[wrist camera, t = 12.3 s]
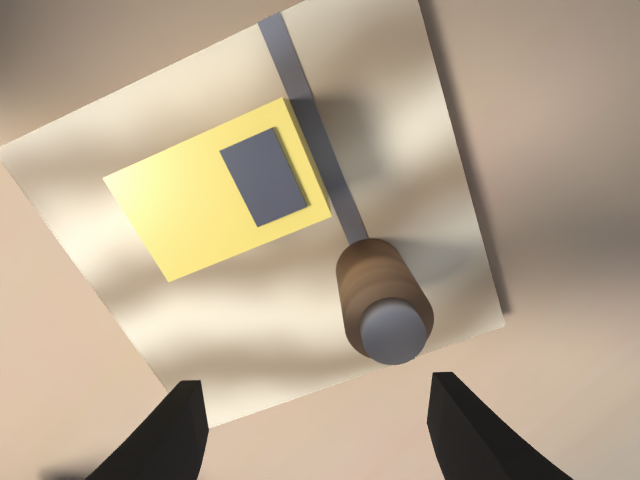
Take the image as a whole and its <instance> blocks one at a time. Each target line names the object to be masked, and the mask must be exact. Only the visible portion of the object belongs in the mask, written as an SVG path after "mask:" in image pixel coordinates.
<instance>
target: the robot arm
mask: <svg viewBox="0 0 640 480" xmlns="http://www.w3.org/2000/svg"><path fill="white" fill-rule="evenodd" d="M427 425H428V429H429V432H430V436H431V440H432V444H433V447H434V451H435V454H436V457H437V460H438V463H439V465H440V468H441V470H442V473H443V475H444V478H445V480H573V479H572V478H571V477H569V476H568V475H567V474H565V473H564V472H563V471H561V470H560V469H559V468H558V467H556V466H555V465H554V464H552V463H551V462H550V461H549V460H547V459H546V458H545V457H544V456H543V455H541V454H540V453H539V452H538V451H537V450H535V449H534V448H533V447H532V446H531V445H530V444H528V443H527V442H526V441H525V440H524V439H522V438H521V437H520V436H519V435H518V434H517V433H516V432H514V431H513V430H512V429H511V428H510V427H509V426H508V425H507V424H506V423H505V422H504V421H502V420H501V419H500V418H499V417H498V416H497V415H496V414H495V413H494V412H493V411H492V410H491V409H490V408H489V407H488V406H487V405H485V404H484V403H483V402H482V401H481V400H480V399H479V398H478V397H477V396H476V395H475V394H474V393H473V392H472V391H471V390H470V389H469V388H468V387H467V386H466V385H465V384H464V383H463V382H462V381H461V380H460V379H459V378H458V377H457V376H456V375H455V374H454V373H453V372H434V373H433V375H432V384H431V392H430V400H429V409H428V417H427ZM208 432H209V427H208V421H207V415H206V409H205V403H204V397H203V391H202V385H201V380H182V381H180V382H179V383H178V384H177V385H176V386H175V387H174V388H173V389H172V390H171V392H170V393H169V394H168V395H167V396H166V397H165V398H164V399H163V400H162V402H161V403H160V404H159V405H158V406H157V407H156V408H155V409H154V410H153V411H152V413H151V414H150V415H149V416H148V417H147V418H146V419H145V420H144V421H143V422H142V423H141V424H140V425H139V426H138V428H137V429H136V430H135V431H134V432H133V433H132V434H131V435H130V436H129V437H128V438H127V439H126V440H125V441H124V442H123V443H122V444H121V445H120V446H119V447H118V448H117V449H116V450H115V451H114V452H113V453H112V454H111V455H110V456H109V457H108V458H107V459H106V460H105V461H104V462H103V463H102V464H101V465H100V466H99V467H98V468H97V469H96V470H95V471H94V472H93V473H91V474H90V475H89V476H88V477H87V478H86V479H85V480H197V477H198V474H199V471H200V468H201V464H202V460H203V456H204V451H205V447H206V442H207V437H208Z"/></svg>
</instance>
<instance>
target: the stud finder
mask: <svg viewBox="0 0 640 480" xmlns="http://www.w3.org/2000/svg"><path fill="white" fill-rule="evenodd" d="M103 180H104V182H105V183H106V185H107V186H108V188H109V189H110V191H111V193H112V194H113V196H114V197H115V199H116V201H117V202H118V204H119V205H120V207H121V208H122V210H123V212H124V213H125V215H126V216H127V218H128V219H129V221H130V223H131V224H132V226H133V227H134V229H135V230H136V232H137V234H138V235H139V237H140V238H141V240H142V242H143V243H144V245H145V246H146V248H147V249H148V251H149V253H150V254H151V256H152V257H153V259H154V260H155V262H156V264H157V265H158V267H159V268H160V270H161V272H162V273H163V275H164V276H165V278H166V279H167V281H168V282H171V281H173V280H176V279H178V278H181V277H183V276H186V275H188V274H191V273H193V272H196V271H198V270H201V269H203V268H206V267H208V266H211V265H213V264H216V263H218V262H221V261H223V260H226V259H228V258H230V257H233V256H235V255H238V254H240V253H243V252H245V251H248V250H250V249H253V248H255V247H258V246H260V245H263V244H265V243H268V242H270V241H273V240H275V239H278V238H280V237H283V236H285V235H288V234H290V233H293V232H295V231H298V230H300V229H302V228H305V227H307V226H310V225H312V224H315V223H317V222H320V221H322V220H325V219H327V218H330V217H332V214H331V209H330V203H329V198H328V193H327V190H326V187H325V185H324V183H323V180H322V178H321V175H320V173H319V170H318V168H317V166H316V163H315V161H314V158H313V156H312V154H311V151H310V149H309V146H308V144H307V141H306V139H305V137H304V134H303V132H302V129H301V127H300V125H299V122H298V120H297V117H296V115H295V112H294V110H293V108H292V105H291V103H290V100H289V99H286V98H283V97H281V98H279V99H277V100H275V101H272V102H270V103H268V104H266V105H264V106H261V107H259V108H257V109H255V110H252V111H250V112H248V113H246V114H244V115H241V116H239V117H237V118H235V119H233V120H230V121H228V122H226V123H224V124H221V125H219V126H217V127H215V128H213V129H210V130H208V131H206V132H204V133H201V134H199V135H197V136H195V137H193V138H190V139H188V140H186V141H184V142H181V143H179V144H177V145H175V146H173V147H170V148H168V149H166V150H164V151H161V152H159V153H157V154H155V155H153V156H150V157H148V158H146V159H144V160H142V161H139V162H137V163H135V164H133V165H130V166H128V167H126V168H124V169H122V170H119V171H117V172H115V173H113V174H110V175H108V176H106V177H104V178H103Z"/></svg>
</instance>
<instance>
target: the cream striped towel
mask: <svg viewBox="0 0 640 480" xmlns="http://www.w3.org/2000/svg"><path fill="white" fill-rule="evenodd" d="M281 97H283V98H286V99H289V100H290V103H291V105H292V108H293V110H294V112H295V115H296V117H297V120H298V122H299V125H300V127H301V129H302V132H303V134H304V137H305V139H306V141H307V144H308V146H309V149H310V151H311V154H312V156H313V158H314V161H315V163H316V166H317V168H318V170H319V173H320V175H321V178H322V180H323V183H324V185H325V187H326V190H327V193H328V198H329V203H330V209H331V214H332V217H330V218H327V219H325V220H322V221H320V222H317V223H315V224H312V225H310V226H307V227H305V228H302V229H300V230H298V231H295V232H293V233H290V234H288V235H285V236H283V237H280V238H278V239H275V240H273V241H270V242H268V243H265V244H263V245H260V246H258V247H255V248H253V249H250V250H248V251H245V252H243V253H240V254H238V255H235V256H233V257H230V258H228V259H226V260H223V261H221V262H218V263H216V264H213V265H211V266H208V267H206V268H203V269H201V270H198V271H196V272H193V273H191V274H188V275H186V276H183V277H181V278H178V279H176V280H173V281H171V282H168V281H167V279H166V278H165V276H164V275H163V273H162V272H161V270H160V268H159V267H158V265H157V264H156V262H155V260H154V259H153V257H152V256H151V254H150V253H149V251H148V249H147V248H146V246H145V245H144V243H143V242H142V240H141V238H140V237H139V235H138V234H137V232H136V230H135V229H134V227H133V226H132V224H131V223H130V221H129V219H128V218H127V216H126V215H125V213H124V212H123V210H122V208H121V207H120V205H119V204H118V202H117V201H116V199H115V197H114V196H113V194H112V193H111V191H110V189H109V188H108V186H107V185H106V183H105V182H104V180H103V178H104V177H106V176H108V175H110V174H113V173H115V172H117V171H119V170H122V169H124V168H126V167H128V166H130V165H133V164H135V163H137V162H139V161H142V160H144V159H146V158H148V157H150V156H153V155H155V154H157V153H159V152H161V151H164V150H166V149H168V148H170V147H173V146H175V145H177V144H179V143H181V142H184V141H186V140H188V139H190V138H193V137H195V136H197V135H199V134H201V133H204V132H206V131H208V130H210V129H213V128H215V127H217V126H219V125H221V124H224V123H226V122H228V121H230V120H233V119H235V118H237V117H239V116H241V115H244V114H246V113H248V112H250V111H252V110H255V109H257V108H259V107H261V106H264V105H266V104H268V103H270V102H272V101H275V100H277V99H279V98H281ZM0 161H1V162H2V164H3V165H4V167H5V168H6V169H7V171H8V172H9V173H10V175H11V176H12V178H13V179H14V180H15V182H16V183H17V185H18V186H19V187H20V189H21V190H22V191H23V193H24V194H25V196H26V197H27V198H28V200H29V201H30V202H31V204H32V205H33V207H34V208H35V209H36V211H37V212H38V214H39V215H40V216H41V218H42V219H43V220H44V222H45V223H46V225H47V226H48V227H49V229H50V230H51V231H52V233H53V234H54V236H55V237H56V238H57V240H58V241H59V243H60V244H61V245H62V247H63V248H64V249H65V251H66V252H67V254H68V255H69V256H70V258H71V259H72V261H73V262H74V263H75V265H76V266H77V267H78V269H79V270H80V272H81V273H82V274H83V276H84V277H85V278H86V280H87V281H88V283H89V284H90V285H91V287H92V288H93V290H94V291H95V292H96V294H97V295H98V296H99V298H100V299H101V301H102V302H103V303H104V305H105V306H106V307H107V309H108V310H109V312H110V313H111V314H112V316H113V317H114V319H115V320H116V321H117V323H118V324H119V325H120V327H121V328H122V330H123V331H124V332H125V334H126V335H127V337H128V338H129V339H130V341H131V342H132V343H133V345H134V346H135V348H136V349H137V350H138V352H139V353H140V354H141V356H142V357H143V359H144V360H145V361H146V363H147V364H148V366H149V367H150V368H151V370H152V371H153V372H154V374H155V375H156V377H157V378H158V379H159V381H160V382H161V383H162V385H163V386H164V388H165V389H166V390H167V392H168V393H170V392H171V390H172V389H173V388H174V387H175V386H176V385H177V384H178V383H179V382H180V381H182V380H201V385H202V391H203V397H204V403H205V409H206V415H207V421H208V427H209V428H212V427H215V426H218V425H221V424H224V423H227V422H229V421H232V420H235V419H238V418H241V417H244V416H247V415H250V414H253V413H255V412H258V411H261V410H264V409H267V408H270V407H273V406H276V405H279V404H281V403H284V402H287V401H290V400H293V399H296V398H299V397H302V396H305V395H307V394H310V393H313V392H316V391H319V390H322V389H325V388H328V387H331V386H333V385H336V384H339V383H342V382H345V381H348V380H351V379H354V378H357V377H359V376H362V375H365V374H368V373H371V372H374V371H377V370H380V369H383V368H385V367H388V366H391V365H385V364H381V363H379V362H376V361H375V360H373V359H371V358H368V357H366V356H363V355H362V354H360V353H359V352H357V351H356V350H355V349H354V348H353V347H352V346H351V344H350V343H349V341H348V339H347V337H346V334H345V329H344V322H343V316H342V310H341V303H340V297H339V291H338V284H337V278H336V265H337V261H338V259H339V257H340V255H341V254H342V252H343V251H344V250H345V249H346V248H347V247H349V246H350V245H351V244H353V243H355V242H357V241H360V240H363V239H380V240H383V241H386V242H388V243H390V244H391V245H392V246H394V247H395V248H396V249H397V251H398V252H399V253H400V255H401V257H402V258H403V260H404V262H405V263H406V265H407V266H408V268H409V270H410V271H411V273H412V275H413V276H414V278H415V279H416V281H417V283H418V284H419V286H420V288H421V289H422V291H423V292H424V294H425V296H426V297H427V299H428V301H429V302H430V304H431V306H432V309H433V313H434V325H433V329H432V332H431V334H430V336H429V338H428V339H427V341H426V343H425V346H424V348H423V349H422V351H421V352H420V353H419V354H418V355H417V356H420V355H423V354H426V353H429V352H432V351H435V350H437V349H440V348H443V347H446V346H449V345H452V344H455V343H458V342H461V341H463V340H466V339H469V338H472V337H475V336H478V335H481V334H484V333H487V332H489V331H492V330H495V329H498V328H501V327H504V326H506V325H505V322H504V318H503V314H502V311H501V307H500V303H499V299H498V296H497V292H496V288H495V285H494V281H493V277H492V273H491V270H490V266H489V262H488V259H487V255H486V251H485V247H484V244H483V240H482V236H481V232H480V229H479V225H478V221H477V218H476V214H475V210H474V206H473V203H472V199H471V195H470V192H469V188H468V184H467V180H466V177H465V173H464V169H463V166H462V162H461V158H460V154H459V151H458V147H457V143H456V140H455V136H454V132H453V128H452V125H451V121H450V117H449V114H448V110H447V106H446V102H445V99H444V95H443V91H442V88H441V84H440V80H439V76H438V73H437V69H436V65H435V62H434V58H433V54H432V50H431V47H430V43H429V39H428V36H427V32H426V28H425V24H424V21H423V17H422V13H421V10H420V6H419V2H418V0H305V1H303V2H301V3H298V4H296V5H294V6H292V7H290V8H288V9H286V10H284V11H282V12H280V13H279V12H278V13H276V14H274V15H272V16H270V17H268V18H266V19H264V20H262V21H260V22H257V24H255V25H253V26H251V27H248V28H246V29H244V30H242V31H240V32H238V33H236V34H234V35H232V36H230V37H228V38H226V39H223V40H221V41H219V42H217V43H215V44H213V45H211V46H209V47H207V48H205V49H203V50H201V51H198V52H196V53H194V54H192V55H190V56H188V57H186V58H184V59H182V60H180V61H178V62H176V63H173V64H171V65H169V66H167V67H165V68H163V69H161V70H159V71H157V72H155V73H153V74H151V75H148V76H146V77H144V78H142V79H140V80H138V81H136V82H134V83H132V84H130V85H128V86H126V87H123V88H121V89H119V90H117V91H115V92H113V93H111V94H109V95H107V96H105V97H103V98H101V99H98V100H96V101H94V102H92V103H90V104H88V105H86V106H84V107H82V108H80V109H78V110H76V111H73V112H71V113H69V114H67V115H65V116H63V117H61V118H59V119H57V120H55V121H53V122H51V123H48V124H46V125H44V126H42V127H40V128H38V129H36V130H34V131H32V132H30V133H28V134H26V135H23V136H21V137H19V138H17V139H15V140H13V141H11V142H9V143H7V144H5V145H3V146H1V147H0ZM417 356H416V357H417ZM413 359H415V358H413Z"/></svg>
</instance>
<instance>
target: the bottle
mask: <svg viewBox="0 0 640 480" xmlns="http://www.w3.org/2000/svg"><path fill="white" fill-rule="evenodd" d="M336 278H337V284H338V291H339V297H340V303H341V310H342V316H343V322H344V329H345V334H346V337H347V339H348V341H349V343H350V344H351V346H352V347H353V348H354V349H355V350H356V351H357V352H359V353H360V354H362V355H363V356H366V357H368V358H371V359H373V360H375V361H376V362H379V363H381V364H385V365H399V364H403V363H406V362H408V361H410V360H412V359H413V358H415V357H416V356H417V355H418V354H419V353H420V352H421V351H422V349H423V348H424V346H425V343H426V341H427V339H428V338H429V336H430V334H431V332H432V329H433V325H434V313H433V309H432V306H431V304H430V302H429V301H428V299H427V297H426V296H425V294H424V292H423V291H422V289H421V288H420V286H419V284H418V283H417V281H416V279H415V278H414V276H413V275H412V273H411V271H410V270H409V268H408V266H407V265H406V263H405V262H404V260H403V258H402V257H401V255H400V253H399V252H398V251H397V249H396V248H395V247H394V246H392V245H391V244H390V243H388V242H386V241H383V240H380V239H363V240H360V241H357V242H355V243H353V244H351V245H350V246H349V247H347V248H346V249H345V250H344V251H343V252H342V254H341V255H340V257H339V259H338V261H337V265H336Z"/></svg>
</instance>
